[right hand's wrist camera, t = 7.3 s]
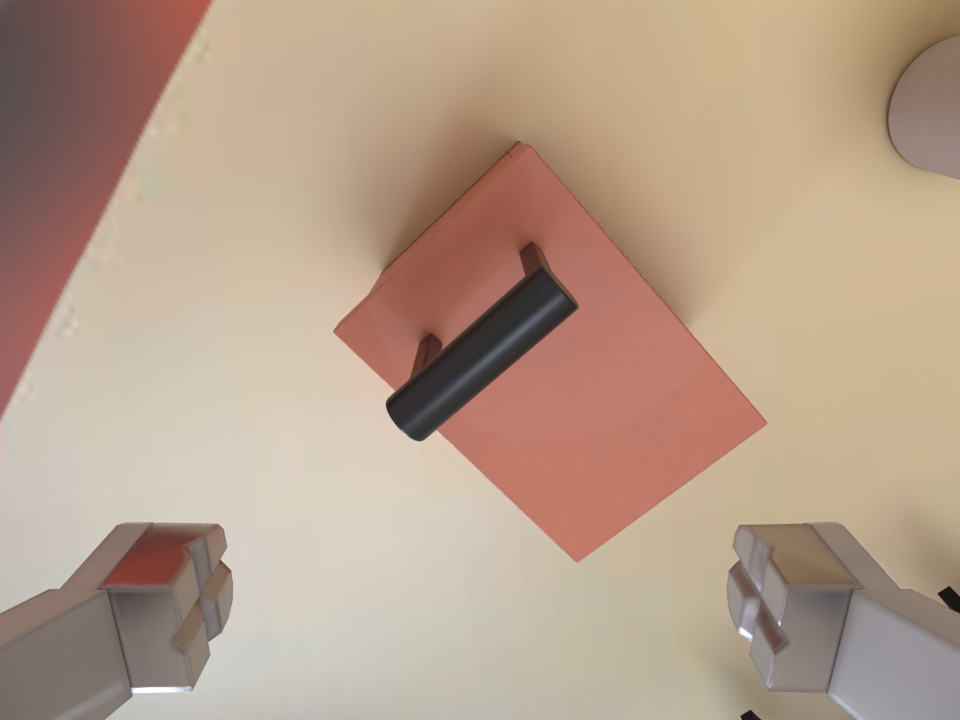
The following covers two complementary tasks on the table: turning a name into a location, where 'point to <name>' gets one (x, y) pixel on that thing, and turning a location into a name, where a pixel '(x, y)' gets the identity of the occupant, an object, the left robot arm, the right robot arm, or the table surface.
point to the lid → (547, 361)
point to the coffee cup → (929, 110)
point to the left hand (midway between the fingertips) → (852, 671)
